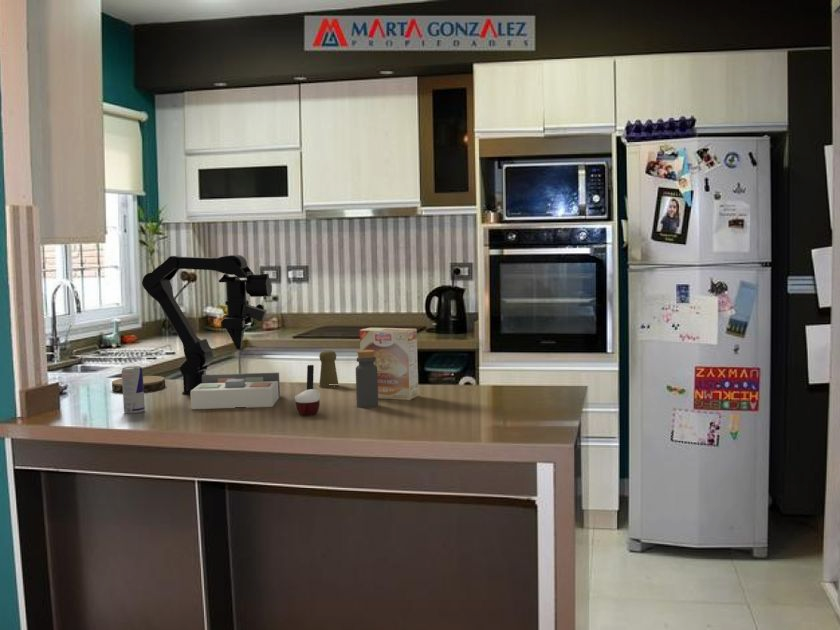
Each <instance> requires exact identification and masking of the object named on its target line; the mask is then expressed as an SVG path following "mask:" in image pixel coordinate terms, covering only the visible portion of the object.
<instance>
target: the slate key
mask: <svg viewBox="0 0 840 630" xmlns="http://www.w3.org/2000/svg"><path fill="white" fill-rule="evenodd" d="M240 387H245V379H228V380H227V381H226V382H225V388H240Z"/></svg>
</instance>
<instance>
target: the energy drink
mask: <svg viewBox="0 0 840 630" xmlns="http://www.w3.org/2000/svg"><path fill="white" fill-rule="evenodd" d="M121 368H122V367H121ZM143 373H144V371H143V368H142V366H138V365H137V366H135V365H134V366H133V365H132V366H127V367H125V366H124V367H123V368H122V370H121V379H122V386H123V393H122V398H123V401H122V402H123V412H124V414H129V415H130V414H140V413H144V412H145V410H146V406H145V392H144V386H143V376H144V374H143Z"/></svg>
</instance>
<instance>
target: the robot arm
mask: <svg viewBox="0 0 840 630" xmlns="http://www.w3.org/2000/svg"><path fill="white" fill-rule="evenodd" d="M247 262H248V261H247V260H246V258H245V257H244V256H243V255H239V254H233V255H232V254H231V255H224V256H218V257H204V256H203V257H202V256H201V257H199V256H180V255H171V256H169V257H167V258H166V259H165V261H164V262H162V263H161V264H160V265H159V266H157V267H155V268H154V269H153V270H151V271H152V272H148V273H146V274H145V275H144V276H143V277H142V282H141V285H142V287H143V289H144V290H145V291H146V293H148V294H149V296H150V297H151V298H153V299H154V300H155V301H156V302H157V303H158V304H159V305H160V307H161V309H162V310H163V312H164V314H165V316H166V317H167V319H168V320H169V322H170V324H171V326H172V328H173V329H174V331H175V332H176V334H177V337H179V340H180V341H181V343H182V347H183V353H184V354H183V355H184V358H185V359H186V360H185V361H184V362H183V363H182V364H181V365H180V367H179V371H180V373H181V375H182V379H183V391H182V395H189V394H190V391H191V390H192V389H194V388H195V387H196V386H198V385H199V384H201V383H202V375H207V370H208V366H209V365H210V364H211V363H212V361H213V358H214V354H213V352H212V351H214V349H213V348H212V347H211V346H210V344H209V341H208V340H207V338H204V339H203V338H202V339H201V338H199V337H198V336H197V334H196V333H195V331H194V329H193V327H192V326H191V325H190V322H189V321H188V318H187V317H186V316H185V314H184V312H183V310H182V309H181V308H180V305H179V304H178V302H177V300H176V299H175V296H174V293H173V286H172V284H171V280H172V279H174V277H175V276H176V274H177V273H178V271H179V270H199V271H200V270H202V271H203V270H204V271H214V272H218V273H222V274H223V276H221V278H219V279H218V282H219V283H225V289H226V290H225V291H226V292H225V293H226V301H225V302H224V303H225V306H226V308H227V309H226V311H227V314H226V315H225V318H222V320H221V321H220V325H221V326H220V327H221V328H220V329H225V330H227V333H228V336H229V337H230V339H231V340H232V342H233V344H234V346H235V349H236V350H241V349H242V345H243V340H244V334H245V330H247V328H249V327H250V324H246V323H251V324H252V323H253V322H254V320H256V321H258V322H263V321H265V317H266V315H267V309H265V307H264V305H263V304H261V303H257V305H256V306H255V305H250V303H249V302H250V301H249V299H247V295H249V297H251V298H262V297H263V298H265V297H269V298H270V297H271V296H272V292H273V284H272V281H271V278H270V274H269V273H262V274H255V273H254V272H253V271H252V270H251V268H250V267H249V266H248V263H247ZM229 275H230V276H229ZM231 275H232V276H231ZM190 395H191V394H190Z"/></svg>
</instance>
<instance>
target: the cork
mask: <svg viewBox="0 0 840 630" xmlns="http://www.w3.org/2000/svg"><path fill="white" fill-rule="evenodd" d="M318 357H319V360H320V362H321V365H320V375H319V384H320V385H319V384H318V386H319V388H322V387H324V389H327V388H329V389H330V388H331V389H332V388H335V387H334V386H338V385H329V384H339V380H338V379H339V378H338V373H337V367H336V360H337V353H336V351H334V350H330V349H329V350H328V349H327V350H322V351H321V352H320V353H319V356H318ZM338 387H339V386H338Z"/></svg>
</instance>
